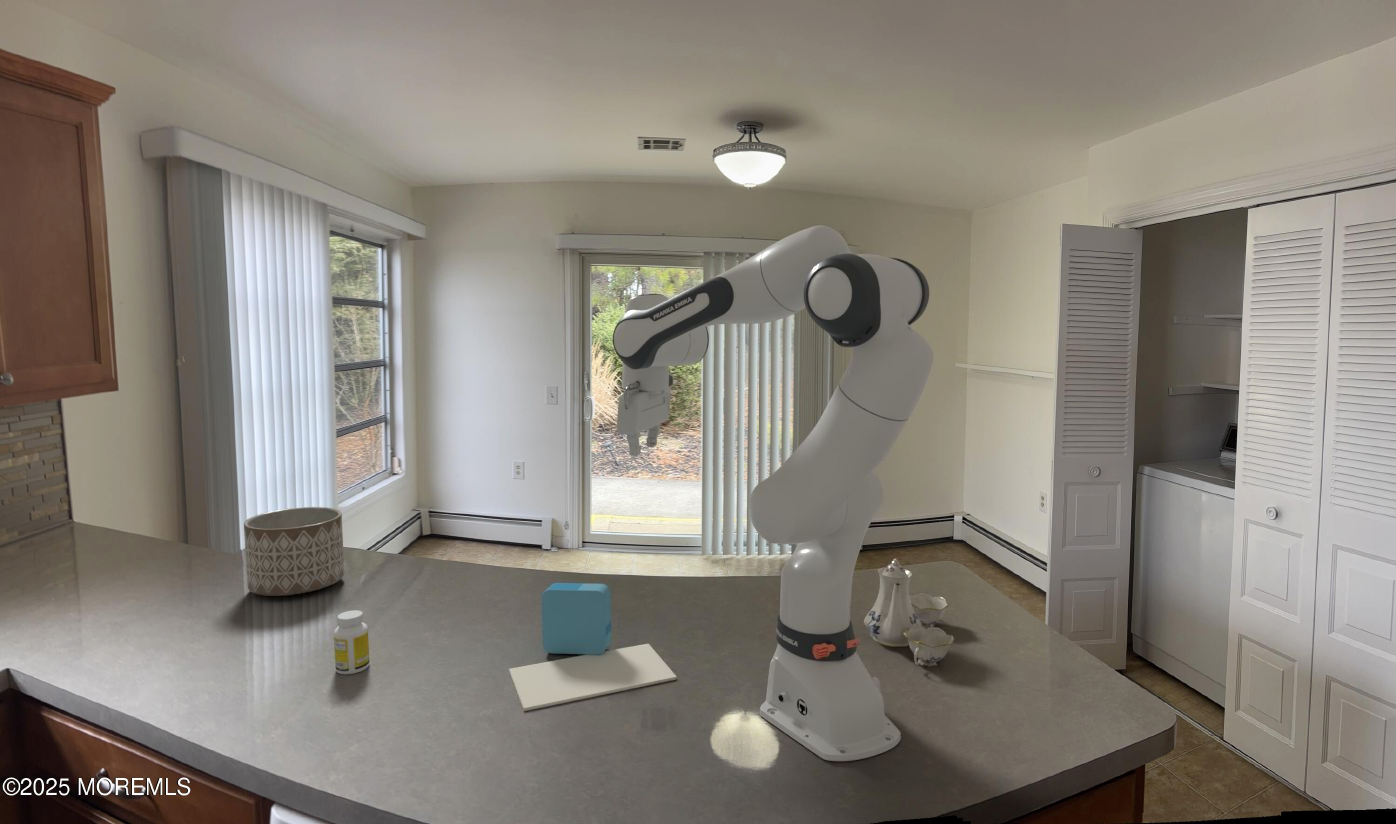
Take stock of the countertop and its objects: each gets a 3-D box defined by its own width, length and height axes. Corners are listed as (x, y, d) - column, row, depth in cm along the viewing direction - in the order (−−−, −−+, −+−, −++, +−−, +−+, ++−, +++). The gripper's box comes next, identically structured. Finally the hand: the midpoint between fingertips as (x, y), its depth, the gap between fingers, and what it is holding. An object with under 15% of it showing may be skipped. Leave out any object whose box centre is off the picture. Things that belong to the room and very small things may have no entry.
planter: (262, 576, 167) (258, 509, 165) (351, 569, 172) (348, 504, 171) (235, 607, 148) (231, 532, 147) (336, 597, 154) (332, 525, 152)
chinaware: (960, 687, 122) (976, 597, 120) (864, 667, 125) (878, 579, 123) (939, 623, 149) (951, 549, 147) (860, 608, 152) (871, 535, 150)
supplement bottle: (370, 658, 126) (368, 606, 125) (368, 672, 121) (366, 618, 120) (337, 663, 124) (334, 610, 123) (333, 677, 119) (330, 622, 118)
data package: (611, 646, 131) (610, 583, 131) (606, 655, 127) (604, 591, 126) (550, 644, 133) (548, 582, 132) (542, 653, 128) (540, 589, 128)
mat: (676, 679, 120) (676, 676, 120) (523, 711, 109) (523, 708, 109) (648, 646, 132) (648, 643, 132) (509, 671, 122) (509, 668, 122)
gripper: (642, 385, 122) (640, 462, 124) (676, 376, 142) (674, 443, 144) (608, 383, 124) (607, 459, 126) (647, 375, 144) (645, 441, 145)
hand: (643, 450), depth 135 cm, fingers open, 8 cm apart
